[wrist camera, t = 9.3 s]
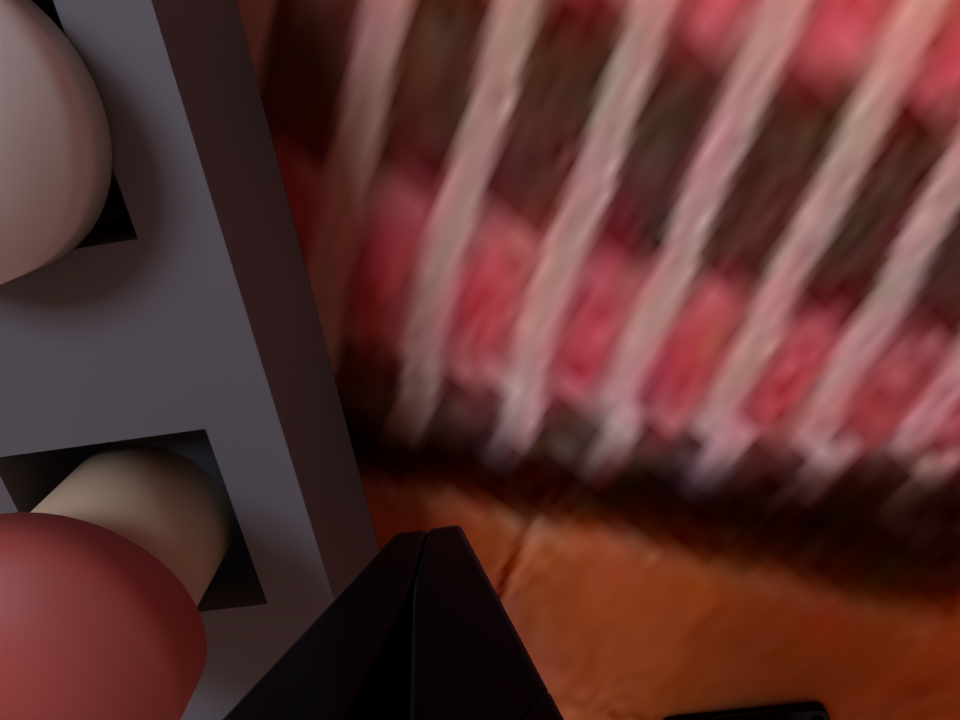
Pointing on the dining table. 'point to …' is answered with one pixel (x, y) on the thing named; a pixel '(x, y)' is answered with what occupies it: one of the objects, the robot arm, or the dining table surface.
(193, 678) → the knob mid
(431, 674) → the robot arm
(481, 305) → the dining table surface
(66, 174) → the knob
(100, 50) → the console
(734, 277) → the dining table surface
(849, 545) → the dining table surface
